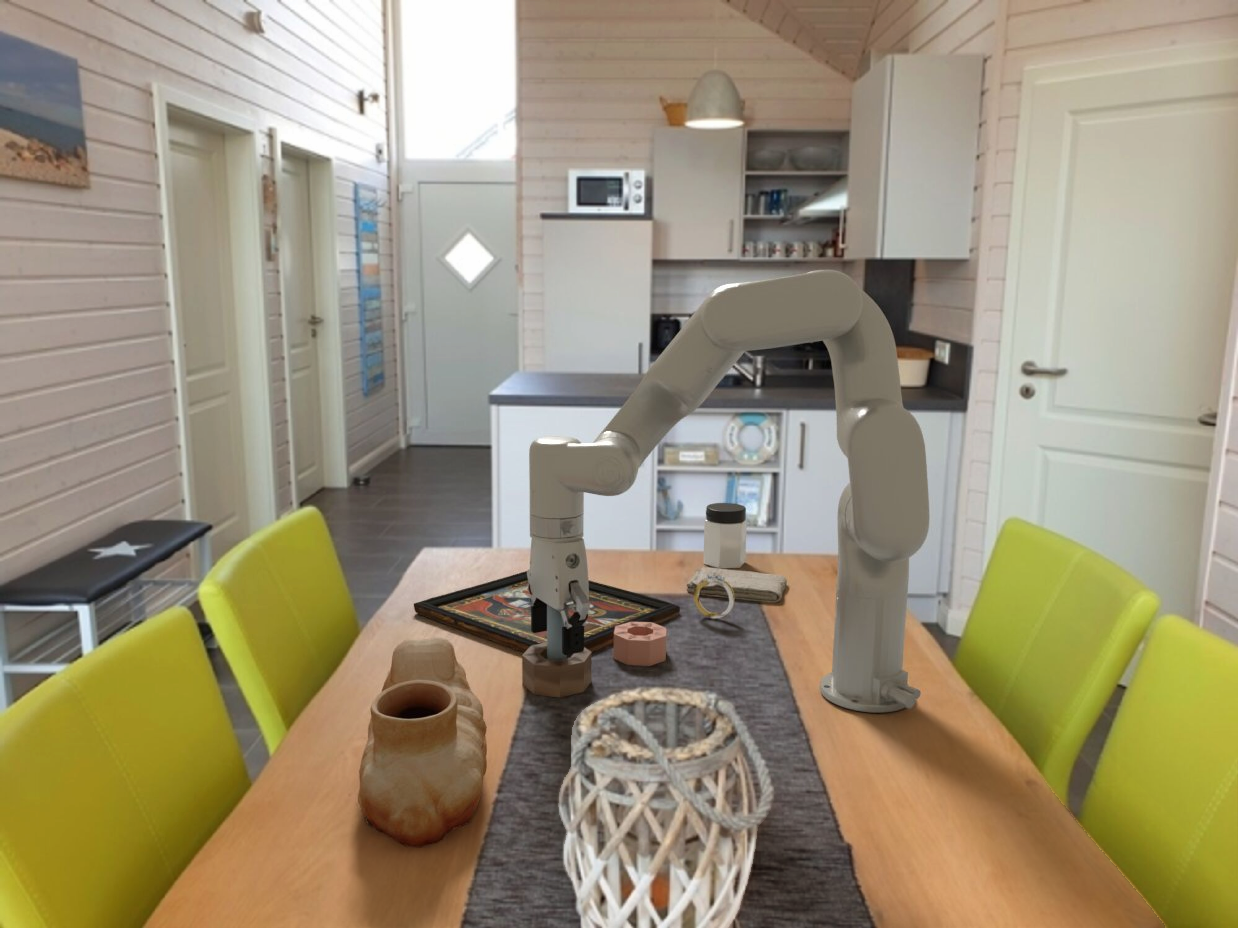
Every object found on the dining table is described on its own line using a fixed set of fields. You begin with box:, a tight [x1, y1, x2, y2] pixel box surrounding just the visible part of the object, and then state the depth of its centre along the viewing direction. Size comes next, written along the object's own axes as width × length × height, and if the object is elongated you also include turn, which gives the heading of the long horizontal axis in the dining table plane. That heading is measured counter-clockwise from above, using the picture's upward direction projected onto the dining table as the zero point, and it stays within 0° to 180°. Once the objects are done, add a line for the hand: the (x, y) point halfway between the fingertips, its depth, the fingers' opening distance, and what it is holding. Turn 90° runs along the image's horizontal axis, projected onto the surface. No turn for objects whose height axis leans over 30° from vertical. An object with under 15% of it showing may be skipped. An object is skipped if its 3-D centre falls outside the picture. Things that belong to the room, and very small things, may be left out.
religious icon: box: [413, 570, 681, 654], centre depth 166 cm, size 38×35×3 cm
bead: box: [521, 643, 592, 699], centre depth 137 cm, size 9×9×4 cm
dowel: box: [547, 603, 567, 660], centre depth 136 cm, size 3×3×12 cm
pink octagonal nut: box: [612, 622, 667, 667], centre depth 148 cm, size 8×8×4 cm
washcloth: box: [686, 566, 788, 603], centre depth 181 cm, size 12×18×3 cm, turn 74°
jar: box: [703, 502, 748, 569], centre depth 197 cm, size 9×8×12 cm
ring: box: [693, 572, 735, 620], centre depth 164 cm, size 7×3×8 cm, turn 62°
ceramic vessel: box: [357, 636, 488, 848], centre depth 108 cm, size 14×26×15 cm, turn 8°
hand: (556, 641), depth 136 cm, fingers open, 9 cm apart
